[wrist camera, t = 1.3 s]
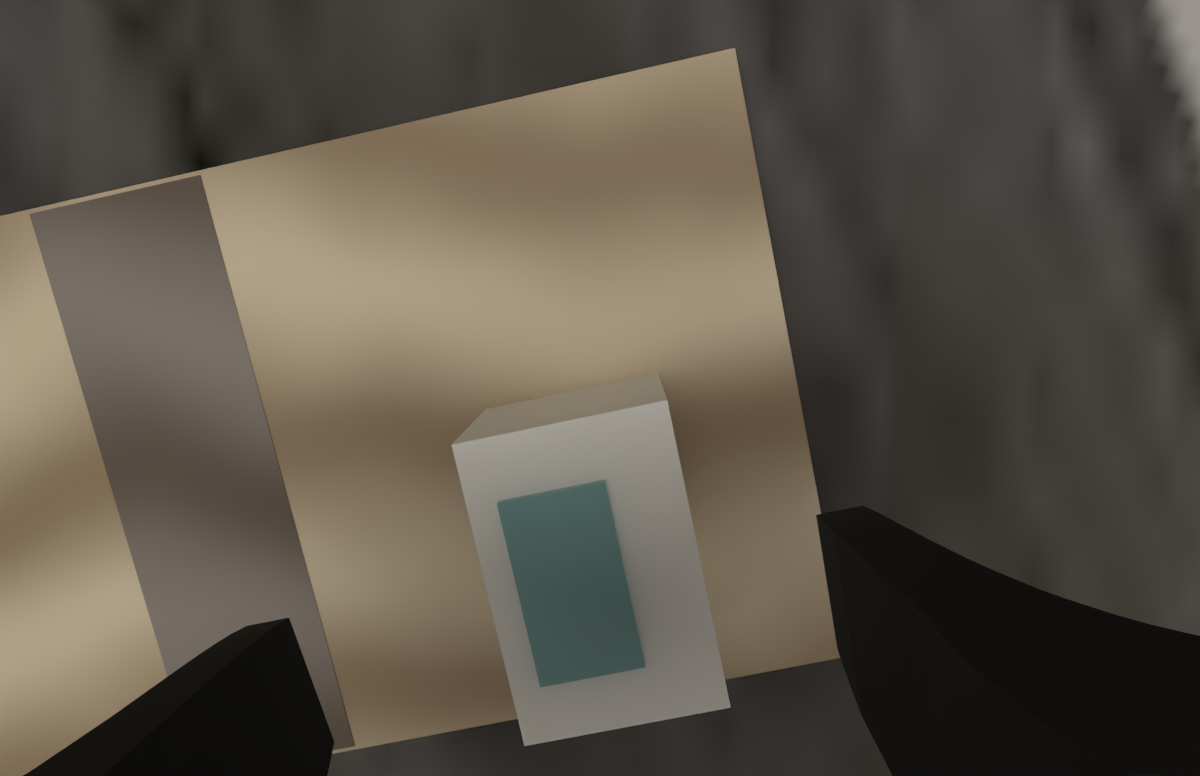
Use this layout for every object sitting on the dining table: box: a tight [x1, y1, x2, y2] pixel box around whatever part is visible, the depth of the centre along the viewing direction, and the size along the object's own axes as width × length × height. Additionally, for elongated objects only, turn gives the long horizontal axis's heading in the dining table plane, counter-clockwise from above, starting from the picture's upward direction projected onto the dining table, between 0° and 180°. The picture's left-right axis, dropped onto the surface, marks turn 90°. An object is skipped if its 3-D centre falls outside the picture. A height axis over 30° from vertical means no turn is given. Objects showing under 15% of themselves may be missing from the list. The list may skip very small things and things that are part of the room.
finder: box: [452, 373, 731, 746], centre depth 18 cm, size 6×4×4 cm, turn 12°
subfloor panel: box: [0, 48, 840, 776], centre depth 21 cm, size 14×22×1 cm, turn 102°
